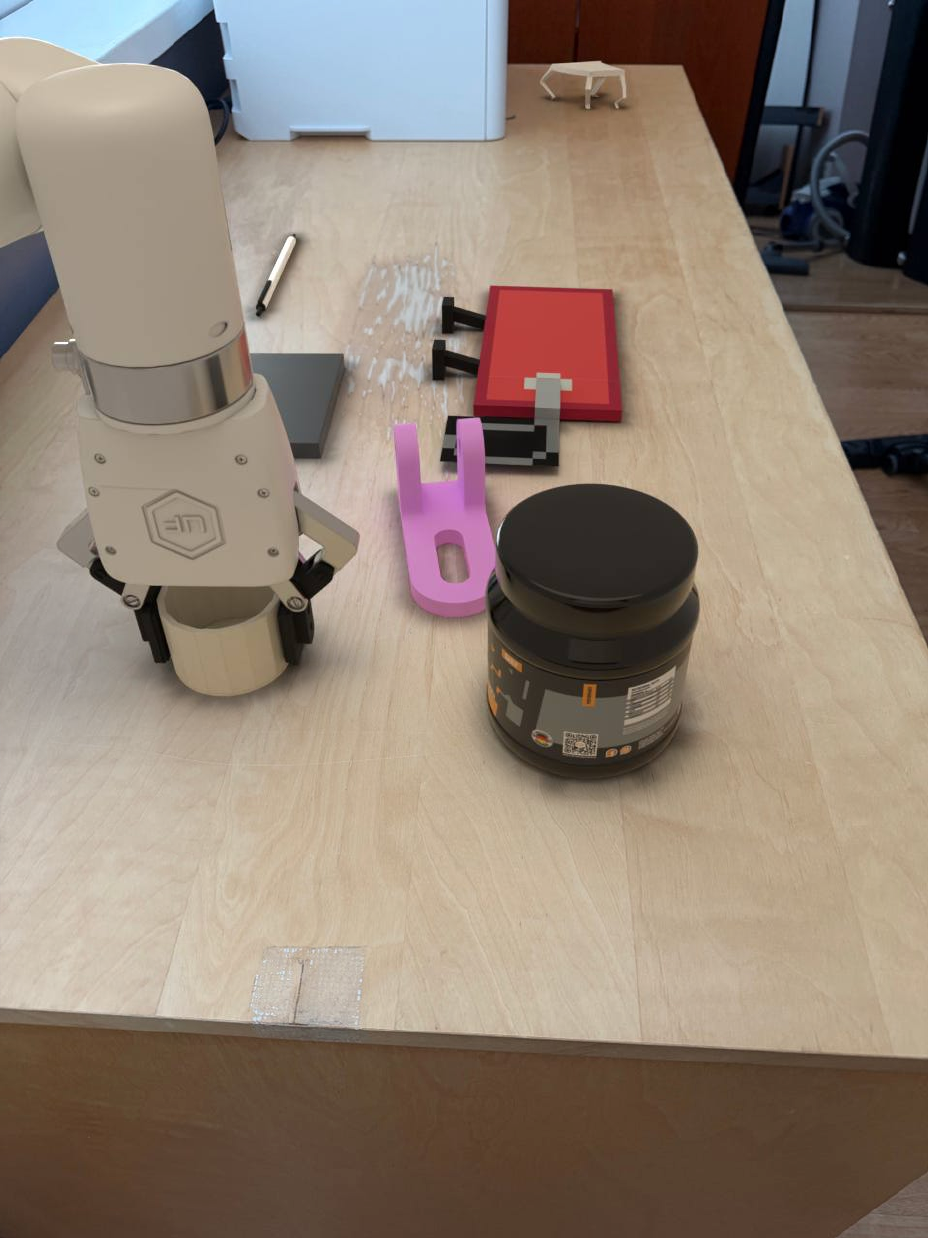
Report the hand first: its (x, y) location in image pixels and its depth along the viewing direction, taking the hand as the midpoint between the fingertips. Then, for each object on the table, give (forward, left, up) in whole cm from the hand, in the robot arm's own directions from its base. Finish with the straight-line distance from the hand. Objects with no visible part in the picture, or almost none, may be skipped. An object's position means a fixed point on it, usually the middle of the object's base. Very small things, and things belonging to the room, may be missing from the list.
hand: (232, 646), depth 60 cm
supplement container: (+20, -4, -1) cm, 20 cm away
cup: (0, 0, -1) cm, 1 cm away
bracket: (+12, +10, -1) cm, 16 cm away
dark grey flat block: (-6, +28, -1) cm, 29 cm away
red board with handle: (+17, +34, -1) cm, 38 cm away
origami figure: (+25, +112, -1) cm, 115 cm away
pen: (-7, +54, -1) cm, 54 cm away
